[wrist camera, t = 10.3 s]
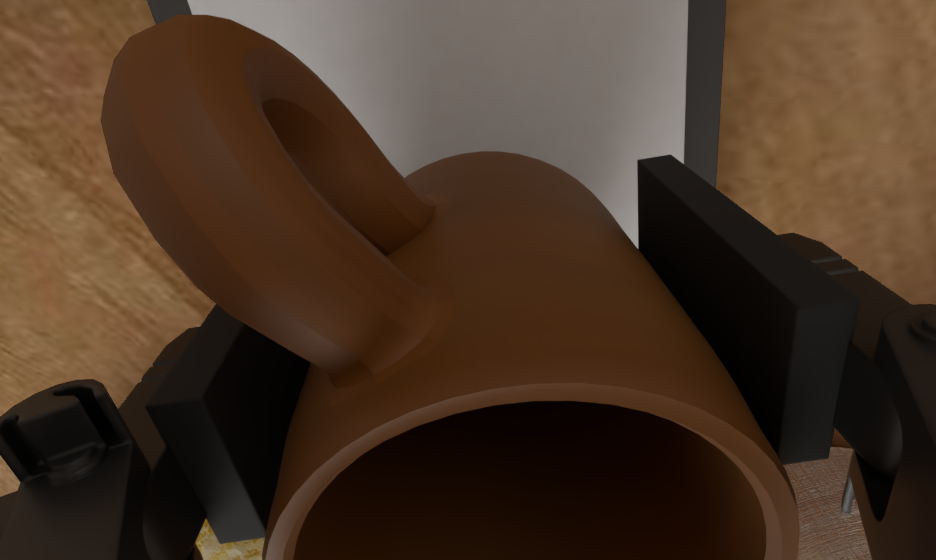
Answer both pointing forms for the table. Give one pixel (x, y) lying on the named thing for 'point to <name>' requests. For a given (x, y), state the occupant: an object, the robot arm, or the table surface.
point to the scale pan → (498, 78)
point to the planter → (827, 509)
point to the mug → (438, 328)
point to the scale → (700, 78)
